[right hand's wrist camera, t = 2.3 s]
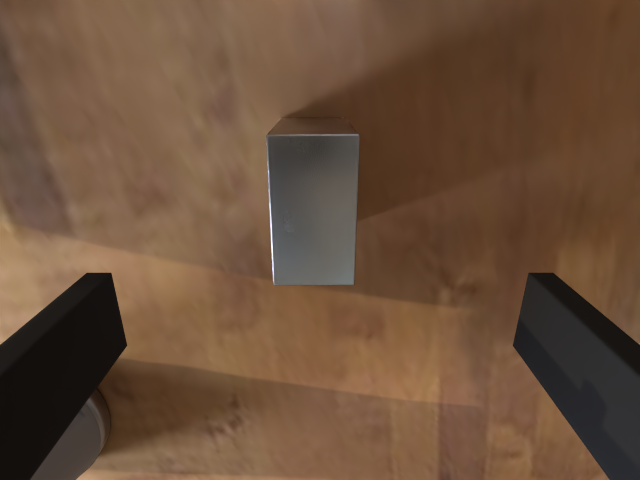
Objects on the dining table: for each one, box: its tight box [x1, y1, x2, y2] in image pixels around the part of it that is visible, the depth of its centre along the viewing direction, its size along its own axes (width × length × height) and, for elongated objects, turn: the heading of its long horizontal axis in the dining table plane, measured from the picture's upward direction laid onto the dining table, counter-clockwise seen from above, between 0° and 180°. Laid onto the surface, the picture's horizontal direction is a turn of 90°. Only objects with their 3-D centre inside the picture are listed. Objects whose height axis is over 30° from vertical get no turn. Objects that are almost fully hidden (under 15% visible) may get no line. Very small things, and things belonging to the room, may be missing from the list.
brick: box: [266, 117, 360, 285], centre depth 27 cm, size 9×5×10 cm, turn 0°
